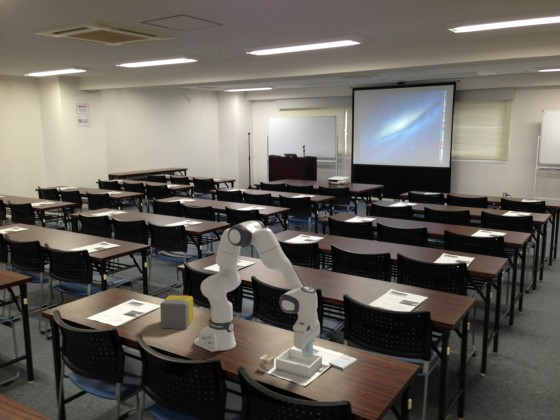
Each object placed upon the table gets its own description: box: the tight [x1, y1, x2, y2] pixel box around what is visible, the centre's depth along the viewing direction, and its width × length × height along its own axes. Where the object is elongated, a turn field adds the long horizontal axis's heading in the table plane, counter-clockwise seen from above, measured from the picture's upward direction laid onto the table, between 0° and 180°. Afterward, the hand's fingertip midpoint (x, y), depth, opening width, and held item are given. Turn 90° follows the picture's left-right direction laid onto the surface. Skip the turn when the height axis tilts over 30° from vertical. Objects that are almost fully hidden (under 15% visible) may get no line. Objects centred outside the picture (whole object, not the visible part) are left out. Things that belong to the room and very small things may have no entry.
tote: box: [275, 347, 323, 379], centre depth 219 cm, size 18×14×5 cm
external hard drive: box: [328, 353, 358, 371], centre depth 224 cm, size 2×8×12 cm
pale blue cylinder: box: [302, 340, 314, 358], centre depth 216 cm, size 5×5×7 cm
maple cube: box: [259, 353, 275, 371], centre depth 219 cm, size 5×5×5 cm
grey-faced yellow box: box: [159, 294, 195, 330], centre depth 275 cm, size 15×24×15 cm, turn 174°
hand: (307, 350), depth 216 cm, fingers closed on pale blue cylinder, 5 cm apart
